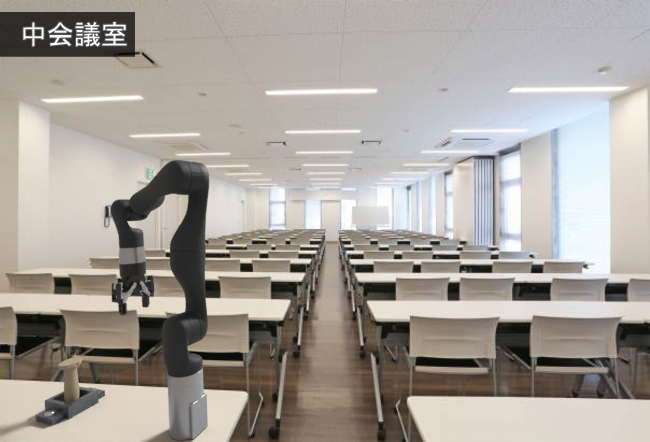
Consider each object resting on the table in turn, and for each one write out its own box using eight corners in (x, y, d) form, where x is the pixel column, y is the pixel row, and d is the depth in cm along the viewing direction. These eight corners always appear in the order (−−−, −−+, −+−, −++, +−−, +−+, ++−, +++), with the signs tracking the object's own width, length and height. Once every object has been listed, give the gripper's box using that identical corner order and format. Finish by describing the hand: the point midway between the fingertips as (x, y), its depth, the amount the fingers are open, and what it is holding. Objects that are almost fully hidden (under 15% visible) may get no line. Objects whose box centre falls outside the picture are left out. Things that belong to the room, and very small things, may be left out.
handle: (87, 402, 112) (85, 357, 111) (70, 414, 106) (68, 366, 105) (73, 401, 113) (71, 356, 112) (56, 413, 106) (54, 365, 106)
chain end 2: (108, 396, 115) (108, 384, 115) (72, 417, 104) (72, 404, 104) (86, 391, 119) (85, 380, 119) (49, 411, 108) (48, 398, 107)
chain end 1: (95, 404, 111) (94, 392, 111) (56, 426, 100) (55, 413, 99) (72, 399, 114) (71, 387, 114) (32, 420, 103) (31, 407, 103)
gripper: (122, 264, 103) (124, 318, 104) (158, 258, 117) (161, 305, 117) (103, 264, 106) (106, 316, 106) (141, 257, 119) (143, 304, 120)
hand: (135, 310), depth 112 cm, fingers open, 8 cm apart
